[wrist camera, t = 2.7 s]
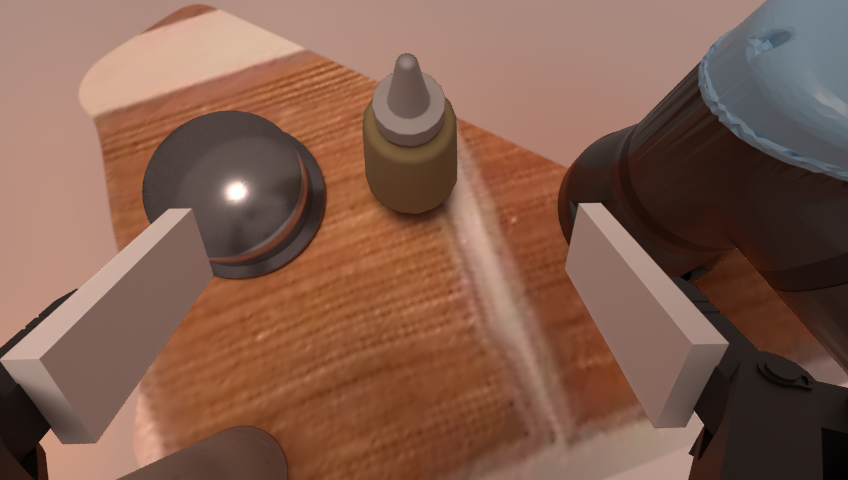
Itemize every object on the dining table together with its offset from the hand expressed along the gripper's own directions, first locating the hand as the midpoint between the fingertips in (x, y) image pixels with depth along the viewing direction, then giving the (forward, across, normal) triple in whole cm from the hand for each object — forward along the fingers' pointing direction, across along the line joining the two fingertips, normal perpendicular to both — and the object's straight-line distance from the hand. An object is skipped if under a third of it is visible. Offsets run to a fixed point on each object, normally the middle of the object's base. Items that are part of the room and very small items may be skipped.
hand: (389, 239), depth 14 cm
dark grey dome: (+24, -15, -9) cm, 29 cm away
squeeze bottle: (+24, +1, -9) cm, 26 cm away
